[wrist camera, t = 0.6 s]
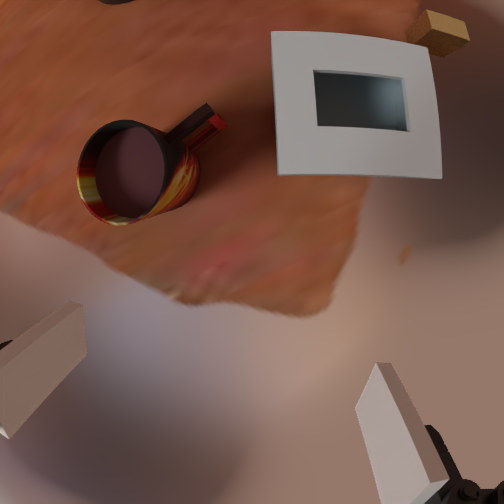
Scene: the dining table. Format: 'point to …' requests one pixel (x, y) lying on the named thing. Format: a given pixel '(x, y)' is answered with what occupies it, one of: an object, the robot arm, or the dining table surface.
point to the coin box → (354, 106)
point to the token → (437, 33)
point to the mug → (142, 167)
